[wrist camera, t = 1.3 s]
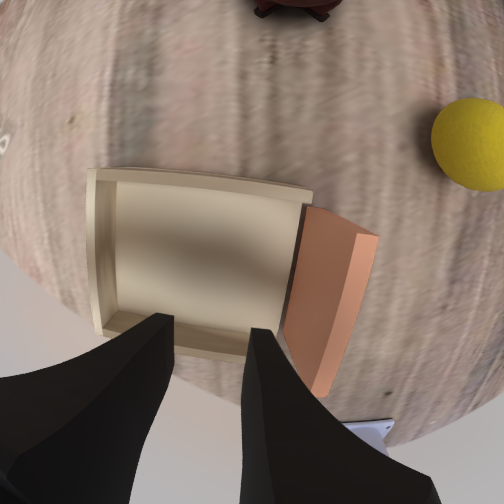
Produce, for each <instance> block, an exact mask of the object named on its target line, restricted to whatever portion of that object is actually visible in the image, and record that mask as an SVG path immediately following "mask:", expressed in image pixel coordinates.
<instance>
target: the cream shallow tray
mask: <svg viewBox="0 0 504 504" xmlns="http://www.w3.org/2000/svg"><path fill="white" fill-rule="evenodd" d="M312 197H313V191H312V190H310V189H307V188H305V187H303V186H300V185H294V184H288V183H282V182H275V181H268V180H261V179H254V178H247V177H239V176H231V175H222V174H213V173H204V172H193V171H182V170H170V169H156V168H140V167H103V168H88V171H87V188H86V250H87V268H88V280H89V291H90V300H91V308H92V315H93V322H94V329H95V334H97V335H100V336H104V337H108V338H111V339H113V338H115V337H117V336H118V335H120V334H122V333H123V332H125V331H127V330H128V329H130V328H132V327H133V326H135V325H136V324H138V323H140V322H141V321H143V320H144V319H146V318H148V317H149V316H151V315H152V314H154V313H156V312H158V313H163V314H169V315H174V353H176V354H182V355H187V356H193V357H199V358H205V359H211V360H217V361H224V362H231V363H239V364H245V361H246V355H247V349H248V343H249V337H250V331H251V327H253V328H262V329H270V330H271V331H272V332H273V334H274V336H275V338H276V340H277V332H278V328H279V323H280V318H281V314H282V309H283V304H284V299H285V294H286V289H287V284H288V279H289V274H290V269H291V264H292V258H293V253H294V247H295V242H296V236H297V231H298V225H299V219H300V213H301V207H302V202H303V203H309V204H311V203H312Z"/></svg>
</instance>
